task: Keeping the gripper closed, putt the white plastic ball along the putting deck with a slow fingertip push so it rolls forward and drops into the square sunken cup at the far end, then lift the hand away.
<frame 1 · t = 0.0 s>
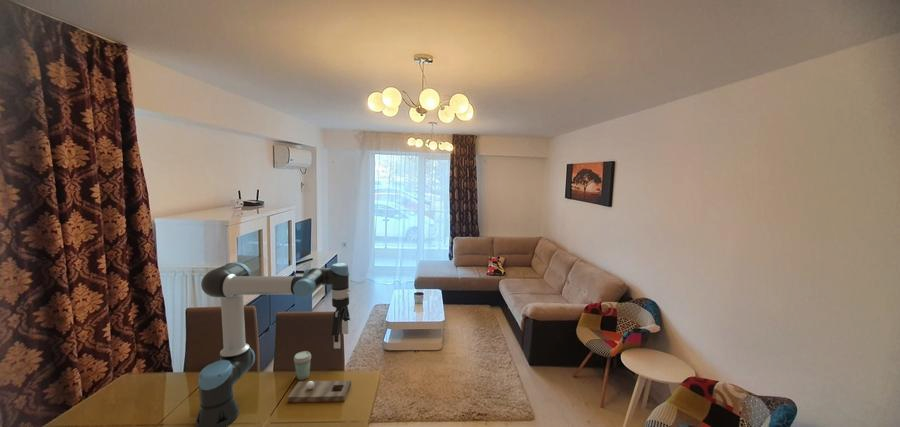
hand: (341, 340, 153), 28 cm above the table, fingers open, 13 cm apart
ball: (310, 385, 157), point 4 cm above the table, touching deck
deck: (320, 393, 158), on the table
coffee cup: (303, 376, 171), on the table
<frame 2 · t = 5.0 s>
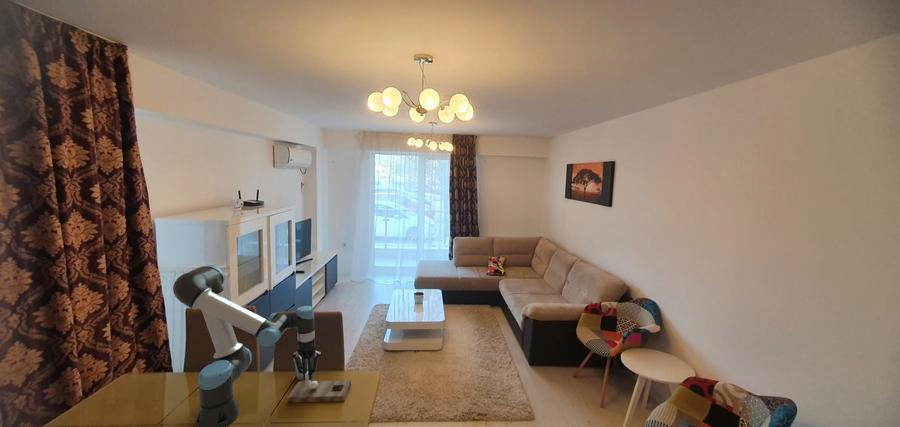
hand: (308, 385, 157), 4 cm above the table, fingers closed
ball: (314, 385, 158), point 4 cm above the table, tilted 57°, touching deck
everything else where it was.
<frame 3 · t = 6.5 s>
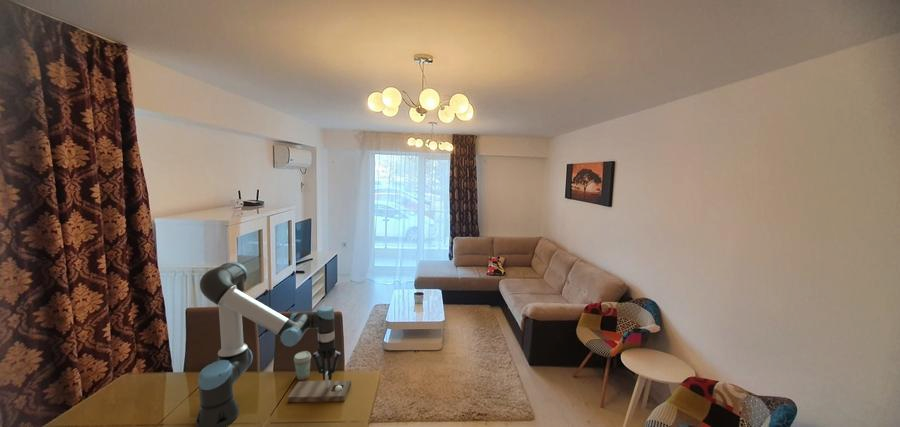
hand: (327, 385, 158), 4 cm above the table, fingers closed
ball: (338, 389, 158), point 2 cm above the table, tilted 105°
everything else where it was.
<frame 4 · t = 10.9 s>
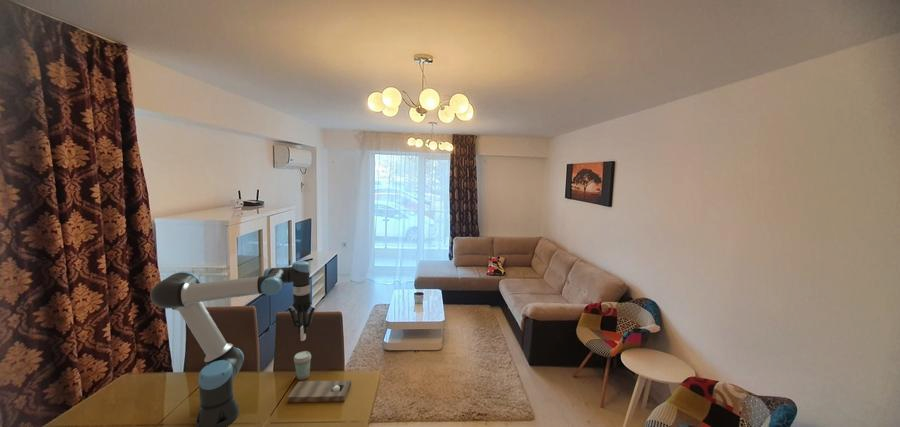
hand: (303, 339, 161), 24 cm above the table, fingers closed
ball: (336, 389, 158), point 2 cm above the table, tilted 67°
everything else where it was.
at the end: ball 0.7 cm from the target spot on the deck, point 1.8 cm above the deck's base; the gripper is holding nothing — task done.
